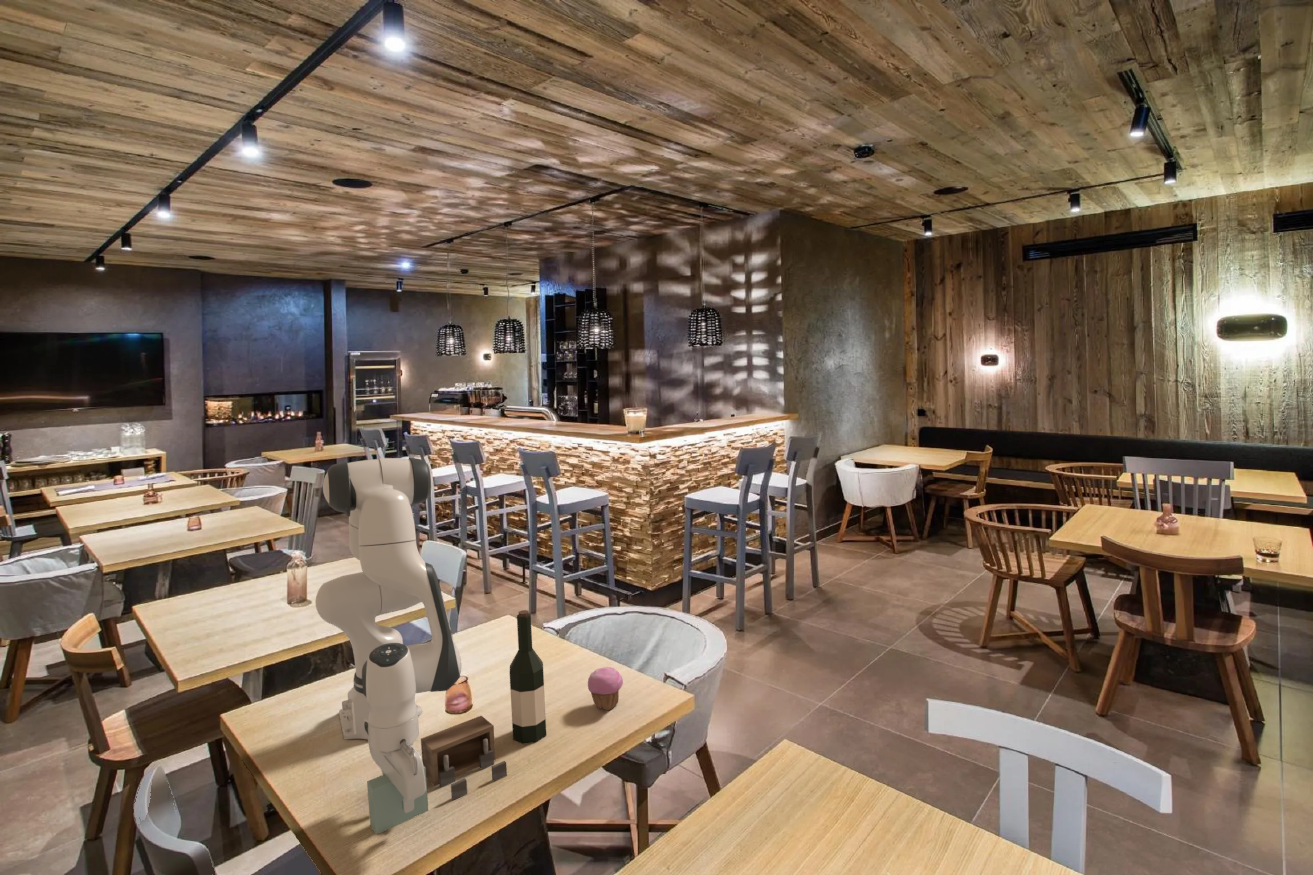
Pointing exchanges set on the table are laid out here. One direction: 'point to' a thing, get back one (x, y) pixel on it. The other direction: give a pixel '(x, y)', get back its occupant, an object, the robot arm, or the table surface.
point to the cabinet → (460, 754)
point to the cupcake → (605, 687)
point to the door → (390, 804)
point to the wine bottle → (527, 687)
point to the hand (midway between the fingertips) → (399, 798)
